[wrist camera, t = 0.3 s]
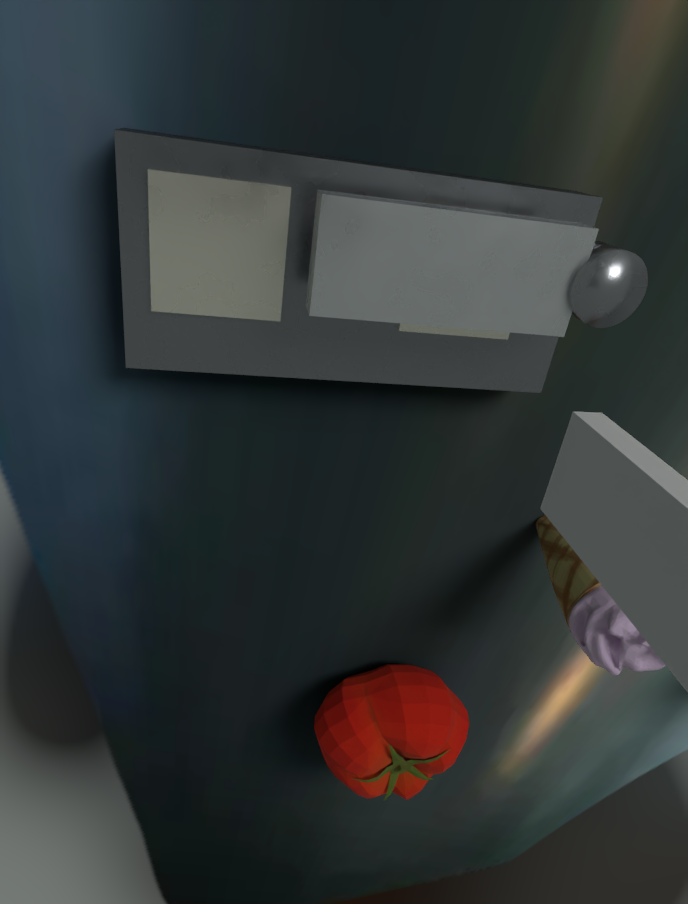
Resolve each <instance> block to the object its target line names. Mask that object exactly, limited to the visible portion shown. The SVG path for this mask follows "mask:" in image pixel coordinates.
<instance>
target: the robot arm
mask: <svg viewBox="0 0 688 904" xmlns="http://www.w3.org/2000/svg"><path fill="white" fill-rule="evenodd" d="M540 509H541V510H542V511H543V513H544V514H545V515H546V516H547V518H548V519H549V520H550V521H551V523H552V524H553V525H554V526H555V528H556V529H557V530H558V531H559V533H560V534H561V535H562V536H563V538H564V539H565V540H566V541H567V543H568V544H569V545H570V546H571V548H572V549H573V550H574V551H575V553H576V554H577V555H578V556H579V558H580V559H581V560H582V561H583V563H584V564H585V565H586V566H587V568H588V569H589V570H590V571H591V573H592V574H593V575H594V576H595V578H596V579H597V580H598V581H599V583H600V584H601V585H602V586H603V588H604V589H605V590H606V591H607V593H608V594H609V595H610V596H611V598H612V599H613V600H614V601H615V603H616V604H617V605H618V606H619V608H620V609H621V610H622V611H623V613H624V614H625V615H626V616H627V618H628V619H629V620H630V621H631V623H632V624H633V625H634V626H635V628H636V629H637V630H638V631H639V633H640V634H641V635H642V636H643V638H644V639H645V640H646V641H647V643H648V644H649V645H650V646H651V648H652V649H653V650H654V651H655V653H656V654H657V655H658V656H659V658H660V659H661V660H662V661H663V663H664V664H665V665H666V666H667V668H668V669H669V670H670V671H671V673H672V674H673V675H674V676H675V678H676V679H677V680H678V681H679V683H680V684H681V685H682V686H683V688H684V689H685V690H686V691H687V693H688V480H687V479H685V478H684V477H683V476H682V475H680V474H679V473H678V472H676V471H675V470H674V469H673V468H671V467H670V466H669V465H668V464H666V463H665V462H664V461H662V460H661V459H660V458H659V457H657V456H656V455H655V454H654V453H652V452H651V451H650V450H648V449H647V448H646V447H645V446H643V445H642V444H641V443H640V442H638V441H637V440H636V439H634V438H633V437H632V436H631V435H629V434H628V433H627V432H626V431H624V430H623V429H622V428H620V427H619V426H618V425H617V424H615V423H614V422H613V421H612V420H610V419H609V418H608V417H606V416H605V415H604V414H603V413H592V412H573V413H572V416H571V419H570V422H569V425H568V428H567V431H566V434H565V437H564V440H563V443H562V446H561V449H560V452H559V455H558V458H557V461H556V464H555V467H554V470H553V473H552V476H551V479H550V481H549V484H548V487H547V490H546V493H545V496H544V499H543V502H542V505H541V508H540Z"/></svg>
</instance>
